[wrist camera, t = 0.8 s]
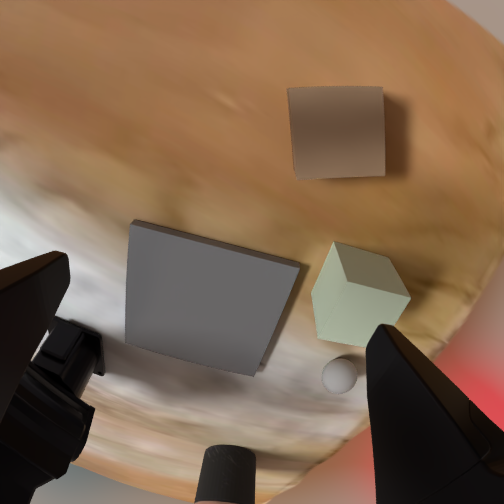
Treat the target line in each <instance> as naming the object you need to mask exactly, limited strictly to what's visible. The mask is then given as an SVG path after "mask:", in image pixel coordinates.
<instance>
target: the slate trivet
mask: <svg viewBox="0 0 504 504" xmlns="http://www.w3.org/2000/svg"><path fill="white" fill-rule="evenodd" d="M299 270H300V266H299V262H295V261H291V260H287V259H284V258H280V257H276V256H272V255H268V254H265V253H261V252H257V251H253V250H249V249H246V248H242V247H238V246H234V245H230V244H226V243H223V242H219V241H215V240H211V239H207V238H204V237H200V236H196V235H192V234H188V233H184V232H181V231H177V230H173V229H169V228H165V227H162V226H158V225H154V224H150V223H146V222H142V221H139V220H135V219H134V220H133V222H132V223H131V224H130V232H129V244H128V259H127V277H126V309H125V343H127V344H131V345H134V346H137V347H140V348H143V349H147V350H150V351H153V352H156V353H160V354H163V355H167V356H170V357H174V358H178V359H181V360H185V361H189V362H192V363H196V364H200V365H204V366H208V367H212V368H216V369H221V370H225V371H229V372H234V373H238V374H243V375H248V376H253V377H254V375H255V373H256V371H257V369H258V366H259V364H260V362H261V360H262V357H263V355H264V353H265V351H266V348H267V346H268V344H269V341H270V339H271V337H272V334H273V332H274V330H275V327H276V325H277V323H278V320H279V318H280V316H281V313H282V311H283V309H284V306H285V304H286V301H287V299H288V297H289V294H290V292H291V289H292V287H293V284H294V282H295V279H296V277H297V275H298V272H299Z"/></svg>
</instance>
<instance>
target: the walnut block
mask: <svg viewBox="0 0 504 504" xmlns="http://www.w3.org/2000/svg"><path fill="white" fill-rule="evenodd" d="M286 90H287V99H288V109H289V119H290V130H291V141H292V152H293V164H294V171H295V175H296V179H297V180H308V179H324V178H344V177H369V176H385V119H384V99H383V87H373V86H322V87H299V88H287V89H286Z"/></svg>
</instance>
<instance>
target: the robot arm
mask: <svg viewBox="0 0 504 504" xmlns="http://www.w3.org/2000/svg"><path fill="white" fill-rule="evenodd" d="M69 284H70V269H69V259H68V256H67V254H66V253H63V252H59V251H52V252H49V253H46V254H43V255H40V256H37V257H34V258H31V259H28V260H26V261H23V262H20V263H17V264H14V265H12V266H9V267H6V268H4V269H1V270H0V504H30V501H31V499H32V496H33V494H34V492H35V489H36V488H38V487H40V486H42V485H44V484H46V483H48V482H49V481H51V480H53V479H58V478H60V477H61V476H63V475H64V474H66V472H67V469H68V466H69V464H70V462H73V461H75V460H76V459H77V458H78V457H79V455H80V454H81V452H82V450H83V448H84V446H85V444H86V441H87V438H88V434H89V430H90V426H91V423H92V419H93V415H94V412H95V408H94V407H92V406H91V405H90V406H89V405H88V404H86V403H85V402H84V401H82V400H81V399H80V398H81V396H82V394H83V392H84V390H85V387H86V385H87V383H88V381H89V379H90V377H91V375H92V373H94V374H97V375H99V376H104V374H105V366H104V357H103V346H102V337H101V336H100V335H99V334H97V333H95V332H92V331H89V330H87V329H84V328H81V327H79V326H76V325H73V324H71V323H68V322H66V321H63V320H61V319H58V318H56V317H54V316H55V314H56V311H57V309H58V307H59V305H60V303H61V301H62V299H63V297H64V295H65V293H66V291H67V289H68V287H69ZM47 330H48V332H49V335H48V337H47V338H46V340H45V341H44V343H43V344H42V346H41V347H40V350H39V351H38V353H37V354H36V356H35V357H34V359H33V360H32V361H30V360H31V359H32V357H33V355H34V353H35V351H36V349H37V348H38V346H39V344H40V342H41V340H42V339H43V337H44V335H45V333H46V332H47ZM366 375H367V399H368V408H369V416H370V425H371V435H372V445H373V457H374V470H375V485H376V504H504V432H503V431H502V430H501V429H500V428H499V427H498V426H497V425H496V424H495V423H493V422H492V421H491V420H490V419H489V418H488V417H487V416H486V415H485V414H484V413H483V412H482V411H481V410H480V409H479V408H478V407H477V406H476V405H475V404H474V403H473V402H472V401H471V400H469V398H468V397H467V396H466V395H465V394H464V393H463V392H462V391H461V390H460V389H459V388H458V387H457V386H456V385H455V384H454V383H453V382H452V381H451V380H450V379H449V378H448V377H447V376H446V375H445V374H444V373H442V371H441V370H440V369H438V368H437V367H436V366H435V365H434V364H433V363H432V362H431V361H430V360H429V359H428V358H427V357H426V356H425V355H424V354H423V353H422V352H421V351H420V350H419V349H418V348H417V347H416V346H415V345H413V344H412V343H411V342H410V341H409V340H408V339H407V338H406V337H405V336H404V335H403V334H402V333H401V332H400V331H399V330H397V329H396V328H395V327H394V326H393V325H388V324H380V325H378V327H377V328H376V330H375V331H374V333H373V335H372V337H371V338H370V340H369V342H368V344H367V346H366Z"/></svg>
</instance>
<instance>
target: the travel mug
mask: <svg viewBox="0 0 504 504" xmlns="http://www.w3.org/2000/svg"><path fill="white" fill-rule="evenodd" d="M255 475H256V457H255V454H254V453H253V452H252V451H250V450H248V449H245V448H242V447H238V446H232V445H216V446H211V447H209V448H207V449H206V451H205V454H204V458H203V463H202V468H201V473H200V478H199V483H198V487H197V492H196V497H195V504H255Z"/></svg>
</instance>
